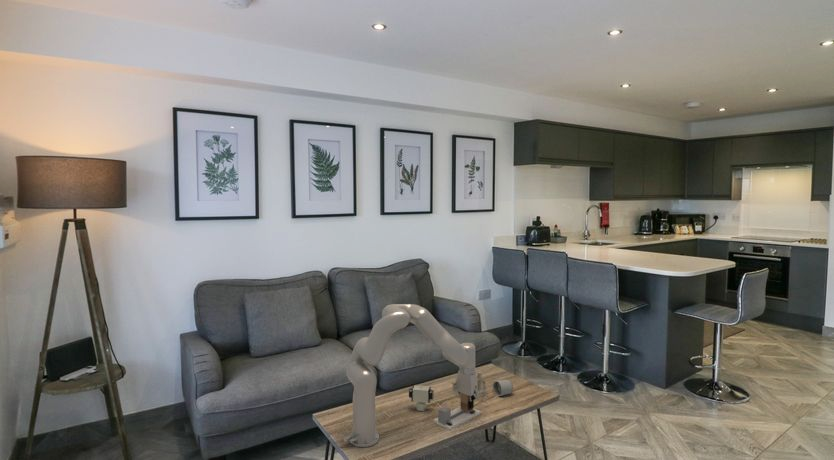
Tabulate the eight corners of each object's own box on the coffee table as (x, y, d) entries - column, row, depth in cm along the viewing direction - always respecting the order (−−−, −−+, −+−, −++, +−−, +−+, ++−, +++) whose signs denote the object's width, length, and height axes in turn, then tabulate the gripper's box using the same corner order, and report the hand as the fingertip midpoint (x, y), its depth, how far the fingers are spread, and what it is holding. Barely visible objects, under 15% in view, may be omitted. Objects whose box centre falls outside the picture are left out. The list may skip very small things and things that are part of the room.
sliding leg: (471, 413, 213) (471, 397, 212) (460, 408, 218) (460, 392, 217) (478, 410, 216) (478, 394, 215) (467, 405, 221) (467, 389, 220)
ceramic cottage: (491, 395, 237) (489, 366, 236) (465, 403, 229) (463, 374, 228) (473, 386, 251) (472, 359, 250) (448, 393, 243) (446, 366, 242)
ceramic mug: (514, 395, 237) (514, 381, 236) (501, 398, 233) (501, 384, 233) (501, 388, 246) (501, 374, 246) (489, 391, 242) (489, 377, 242)
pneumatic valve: (432, 412, 218) (432, 388, 217) (408, 410, 221) (408, 386, 220) (434, 407, 224) (434, 383, 223) (411, 405, 226) (410, 382, 225)
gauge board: (449, 430, 202) (449, 414, 201) (433, 422, 209) (433, 406, 209) (480, 413, 217) (480, 399, 217) (464, 406, 224) (464, 392, 224)
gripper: (449, 366, 220) (448, 403, 221) (476, 376, 208) (475, 415, 209) (459, 362, 225) (459, 398, 226) (486, 372, 213) (485, 410, 214)
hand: (467, 406), depth 218 cm, fingers closed on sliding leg, 4 cm apart
